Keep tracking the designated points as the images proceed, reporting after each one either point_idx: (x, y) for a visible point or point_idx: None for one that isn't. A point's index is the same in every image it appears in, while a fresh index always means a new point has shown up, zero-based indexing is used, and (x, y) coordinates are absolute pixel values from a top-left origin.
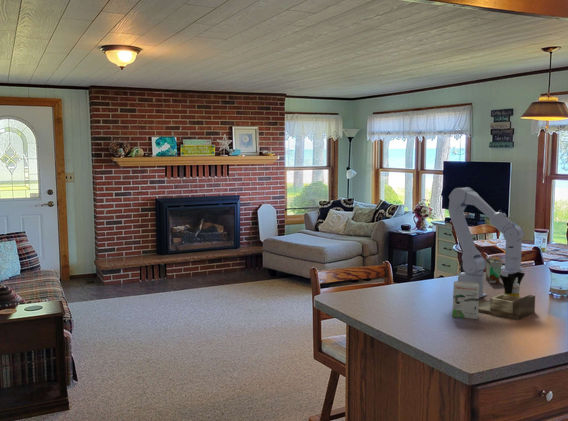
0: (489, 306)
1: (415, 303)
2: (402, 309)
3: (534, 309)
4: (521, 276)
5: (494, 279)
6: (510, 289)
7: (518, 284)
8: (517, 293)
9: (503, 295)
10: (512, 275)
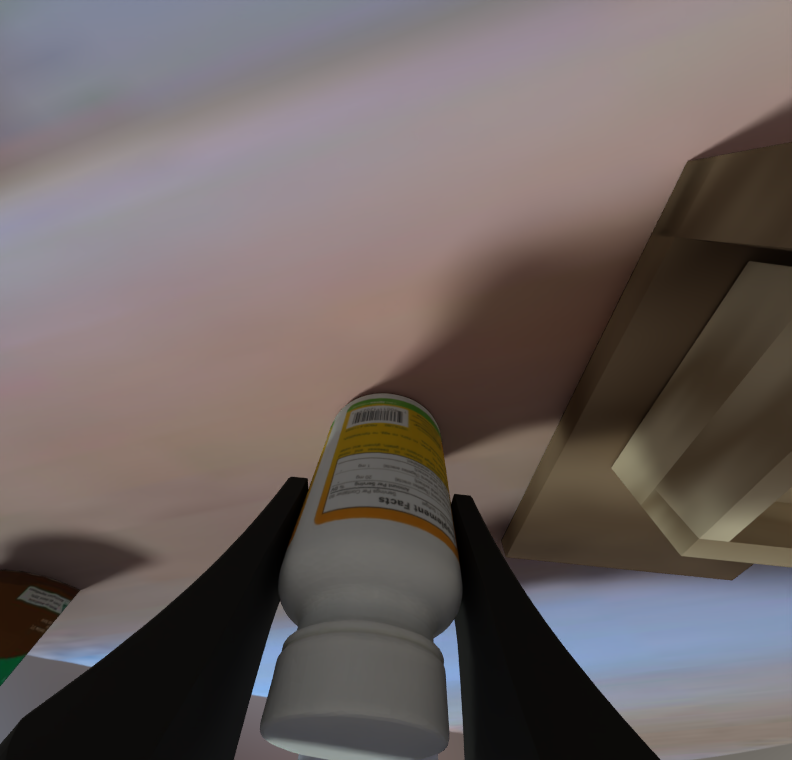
0: None
1: (664, 670)
2: (787, 675)
3: (722, 156)
4: (175, 720)
5: (20, 612)
6: (487, 544)
7: (370, 560)
8: (408, 458)
9: (729, 530)
10: (221, 755)
